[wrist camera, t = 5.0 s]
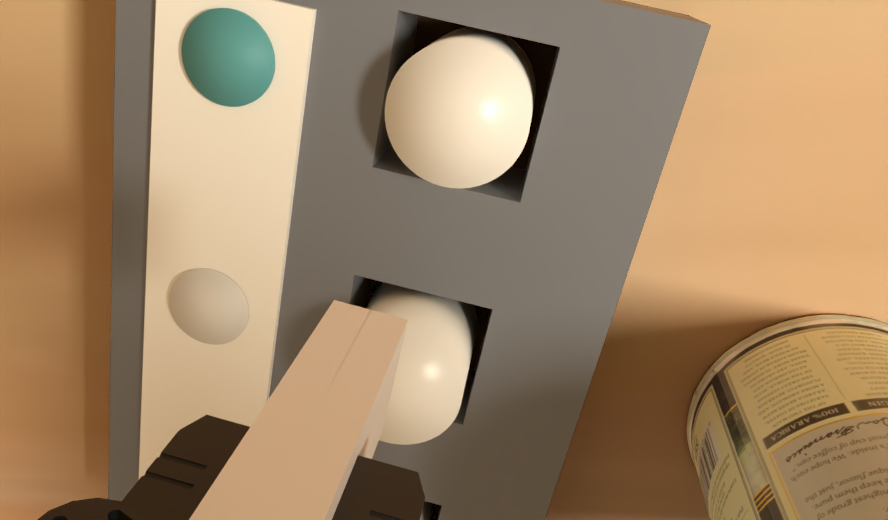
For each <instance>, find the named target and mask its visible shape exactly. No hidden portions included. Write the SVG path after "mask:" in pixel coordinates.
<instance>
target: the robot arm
mask: <svg viewBox="0 0 888 520" xmlns="http://www.w3.org/2000/svg"><path fill="white" fill-rule="evenodd" d="M407 323H408V320H406V319H403V318H399V317H395V316H392V315H388V314H384V313H381V312H377V311H373V310H370V309H366V308H362V307H359V306H355V305H351V304H348V303H344V302H340V301H337V300H334V301H333V302H332V304H331V306H330V307H329V309H328V310H327V312H326V313H325V315H324V316H323V318H322V319H321V321H320V322H319V324H318V325H317V327H316V328H315V330H314V331H313V333H312V334H311V336H310V337H309V339H308V340H307V342H306V343H305V345H304V346H303V348H302V349H301V351H300V352H299V354H298V355H297V357H296V358H295V360H294V362H293V363H292V365H291V366H290V368H289V369H288V371H287V372H286V374H285V375H284V377H283V378H282V380H281V381H280V383H279V384H278V386H277V387H276V389H275V390H274V392H273V393H272V395H271V396H270V398H269V399H268V401H267V402H266V404H265V405H264V407H263V408H262V410H261V411H260V413H259V415H258V416H257V418H256V419H255V421H254V422H253V424H252V425H251V427H249V426H245V425H242V424H238V423H235V422H231V421H228V420H224V419H220V418H217V417H213V416H210V415H205V416H203V417H201V418H200V419H198V420H196V421H194V422H193V423H191V424H189V425H187V426H185V427H184V428H182V429H180V430H179V431H178V432H177V433H176V434H175V436H174V437H173V438H172V439H171V441H170V442H169V443H168V444H167V446H166V447H165V448H164V449H163V451H162V452H161V454H160V457H157V458H156V459H155V460H154V462H153V463H152V464H151V465H150V467H149V468H148V469H147V470H146V473H145V475H144V476H142V477H141V478H140V479H139V480H138V481H137V483H136V484H135V485H134V486H133V488H132V489H131V490H130V491H129V493H128V494H127V495H126V496H125V498H124V499H123V500H122V501H117V500H110V499H102V498H93V499H85V500H78V501H72V502H69V503H67V504H65V505H62V506H60V507H57V508H55V509H52V510H50V511H48V512H47V513H46V514H44V515H43V516H42V517H40V518H39V519H38V520H420V517H421V513H422V509H423V505H424V501H425V495H424V492H423V488H422V484H421V481H420V477H419V473H418V472H416V471H412V470H409V469H405V468H401V467H398V466H394V465H391V464H387V463H384V462H380V461H377V460H373V459H372V457H373V455H374V452H375V449H376V447H377V444H378V441H379V439H380V436H381V433H382V430H383V426H384V421H385V417H386V413H387V409H388V404H389V400H390V396H391V391H392V387H393V383H394V378H395V374H396V370H397V366H398V361H399V357H400V353H401V348H402V344H403V340H404V336H405V331H406V327H407Z"/></svg>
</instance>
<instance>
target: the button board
mask: <svg viewBox="0 0 888 520" xmlns="http://www.w3.org/2000/svg"><path fill="white" fill-rule="evenodd" d="M419 15H421V16H425V17H430V18H434V19H439V20H443V21H447V22H452V23H456V24H461V25H465V26H469V27H474V28H478V29H483V30H487V31H491V32H496V33H500V34H505V35H509V36H513V37H518V38H522V39H527V40H531V41H535V42H540V43H544V44H549V45H553V46H557V50H556V54H555V58H554V62H553V65H552V69H551V73H550V77H549V81H548V85H547V89H546V93H545V97H544V101H543V104H542V108H541V112H540V116H539V120H538V124H537V128H536V132H535V136H534V140H533V143H532V147H531V151H530V155H529V159H528V163H527V167H526V170H523V169H519V168H514V167H510V168H509V169H508V170H507V171H506V172H504V173H503V174H502V175H500V176H499V177H497V178H496V179H494V180H492V181H490V182H488V183H486V184H483V185H480V186H476V187H471V188H461V189H459V188H448V187H442V186H439V185H436V184H433V183H431V182H428V181H426V180H424V179H422V178H421V177H419V176H418V175H416V174H415V173H414V172H412V171H411V170H410V169H409V168H408V167H407V166H406V165H405V164H404V163H403V162H402V161H401V159H400V158H399V157H398V155H397V154H396V152H395V150H394V148H393V147H392V144H391V142H390V140H389V137H388V133H387V130H386V124H385V102H386V97H387V93H388V90H389V87H390V85H391V82H392V80H393V78H394V77H395V75H396V73H397V72H398V71H399V69H400V68H401V66H402V65H403V64H404V63H405V62H406V61H407V60H408V59H409V58H411V57H412V53H413V48H414V42H415V36H416V31H417V25H418V19H419ZM710 26H711V25H709V24H707V23H705V22H702V21H700V20H698V19H695V18H693V17H691V16H689V15H684V14H680V13H675V12H671V11H666V10H662V9H657V8H653V7H648V6H644V5H639V4H635V3H630V2H626V1H621V0H116V13H115V81H114V148H113V216H112V284H111V351H110V419H109V486H108V499H110V500H117V501H122V500H123V499H124V498H125V496H126V495H127V494H128V493H129V491H130V490H131V489H132V488H133V486H134V485H135V484H136V483H137V481H138V480H139V479H140V478H141V477H142V476H144V475H145V473H146V470H147V469H148V468H149V467H150V465H151V464H152V463H153V462H154V460H155V459H156V458H157V457H160V454H161V452H162V451H163V449H164V448H165V447H166V446H167V444H168V443H169V442H170V441H171V439H172V438H173V437H174V436H175V434H176V433H177V432H178V431H179V430H180V429H182V428H184V427H185V426H187V425H189V424H191V423H193V422H194V421H196V420H198V419H200V418H201V417H203V416H205V415H210V416H213V417H217V418H220V419H224V420H228V421H231V422H235V423H238V424H242V425H245V426H249V427H251V425H252V424H253V422H254V421H255V419H256V418H257V416H258V415H259V413H260V411H261V410H262V408H263V407H264V405H265V404H266V402H267V401H268V399H269V398H270V396H271V395H272V393H273V392H274V390H275V389H276V387H277V386H278V384H279V383H280V381H281V380H282V378H283V377H284V375H285V374H286V372H287V371H288V369H289V368H290V366H291V365H292V363H293V362H294V360H295V358H296V357H297V355H298V354H299V352H300V351H301V349H302V348H303V346H304V345H305V343H306V342H307V340H308V339H309V337H310V336H311V334H312V333H313V331H314V330H315V328H316V327H317V325H318V324H319V322H320V321H321V319H322V318H323V316H324V315H325V313H326V312H327V310H328V309H329V307H330V306H331V304H332V302H333V301H334V300H337V301H340V302H344V303H348V304H351V305H355V306H359V307H362V308H366V306H367V305H368V300H369V295H370V289H371V284H372V279H373V280H377V281H381V282H385V283H389V284H393V285H397V286H401V287H405V288H409V289H413V290H417V291H421V292H425V293H429V294H433V295H437V296H441V297H445V298H449V299H453V300H457V301H461V302H465V303H469V304H473V305H477V306H481V307H485V308H489V309H490V311H489V315H488V319H487V323H486V327H485V331H484V334H483V338H482V342H481V346H480V350H479V354H478V358H477V362H476V366H475V370H473V369H469V370H468V375H467V379H466V384H465V388H464V393H463V397H462V402H461V406H460V409H459V412H458V414H457V416H456V418H455V420H454V421H453V423H452V424H451V425H450V426H449V427H448V428H447V429H446V430H445V431H444V432H443V433H441V434H440V435H439V436H437V437H435V438H433V439H431V440H428V441H426V442H422V443H418V444H410V445H400V444H391V443H387V442H383V441H380V440H379V441H378V444H377V447H376V449H375V452H374V455H373V457H372V459H373V460H377V461H380V462H384V463H387V464H391V465H394V466H398V467H401V468H405V469H409V470H412V471H416V472H418V473H419V477H420V481H421V484H422V488H423V492H424V495H425V501H426V502H430V503H433V504H437V505H440V506H439V510H438V514H437V518H436V520H545V517H546V514H547V511H548V508H549V505H550V502H551V499H552V496H553V493H554V490H555V487H556V484H557V481H558V478H559V475H560V472H561V469H562V466H563V463H564V460H565V457H566V454H567V451H568V448H569V445H570V442H571V439H572V437H573V434H574V431H575V428H576V425H577V422H578V419H579V416H580V413H581V410H582V407H583V404H584V401H585V398H586V395H587V392H588V389H589V386H590V383H591V380H592V377H593V374H594V371H595V368H596V365H597V362H598V359H599V356H600V353H601V350H602V347H603V344H604V341H605V338H606V335H607V333H608V330H609V327H610V324H611V321H612V318H613V315H614V312H615V309H616V306H617V303H618V300H619V297H620V294H621V291H622V288H623V285H624V282H625V279H626V276H627V273H628V270H629V267H630V264H631V261H632V258H633V255H634V252H635V249H636V246H637V243H638V240H639V237H640V234H641V231H642V229H643V226H644V223H645V220H646V217H647V214H648V211H649V208H650V205H651V202H652V199H653V196H654V193H655V190H656V187H657V184H658V181H659V178H660V175H661V172H662V169H663V166H664V163H665V160H666V157H667V154H668V151H669V148H670V145H671V142H672V139H673V136H674V133H675V130H676V127H677V124H678V122H679V119H680V116H681V113H682V110H683V107H684V104H685V101H686V98H687V95H688V92H689V89H690V86H691V83H692V80H693V77H694V74H695V71H696V68H697V65H698V62H699V59H700V56H701V53H702V50H703V47H704V44H705V41H706V38H707V35H708V32H709V29H710Z"/></svg>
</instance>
